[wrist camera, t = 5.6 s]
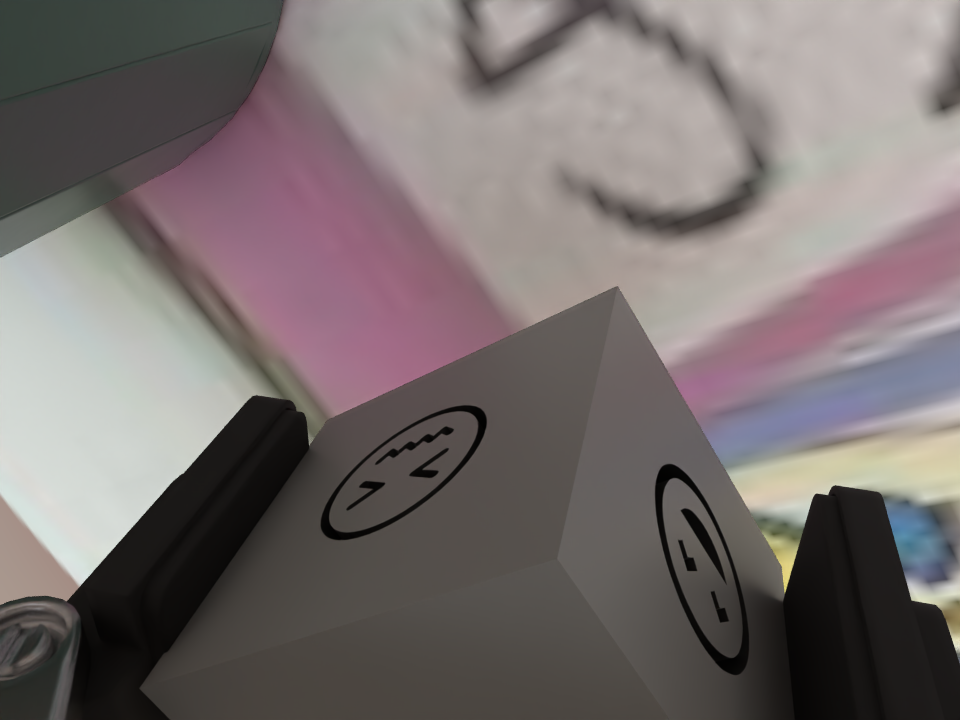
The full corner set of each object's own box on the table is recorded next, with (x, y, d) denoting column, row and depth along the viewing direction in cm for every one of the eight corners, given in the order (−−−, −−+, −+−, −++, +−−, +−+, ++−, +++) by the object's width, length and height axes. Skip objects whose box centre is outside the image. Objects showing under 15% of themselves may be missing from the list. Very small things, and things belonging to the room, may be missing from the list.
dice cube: (497, 642, 14) (410, 961, 10) (327, 420, 13) (139, 687, 9) (782, 566, 12) (820, 934, 8) (617, 286, 11) (557, 558, 6)
